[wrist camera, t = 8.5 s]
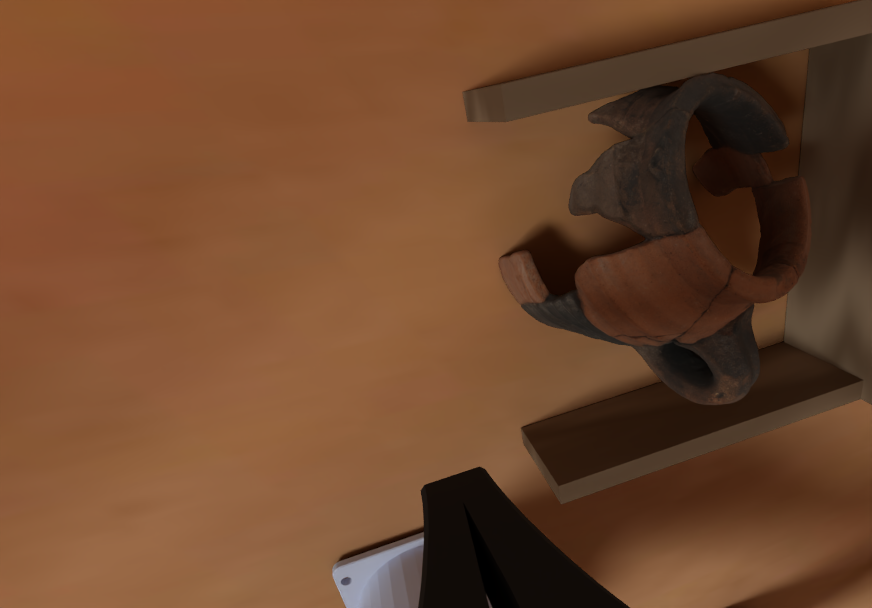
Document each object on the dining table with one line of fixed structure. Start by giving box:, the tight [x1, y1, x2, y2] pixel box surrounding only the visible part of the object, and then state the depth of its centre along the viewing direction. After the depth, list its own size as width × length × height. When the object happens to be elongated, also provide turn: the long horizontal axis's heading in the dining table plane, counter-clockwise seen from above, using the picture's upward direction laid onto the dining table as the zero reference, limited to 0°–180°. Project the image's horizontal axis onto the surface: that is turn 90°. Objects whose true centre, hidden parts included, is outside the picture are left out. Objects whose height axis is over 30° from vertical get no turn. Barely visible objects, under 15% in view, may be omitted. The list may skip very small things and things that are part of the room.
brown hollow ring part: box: [499, 72, 812, 405], centre depth 18 cm, size 12×10×8 cm
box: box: [463, 0, 872, 504], centre depth 19 cm, size 16×16×5 cm
